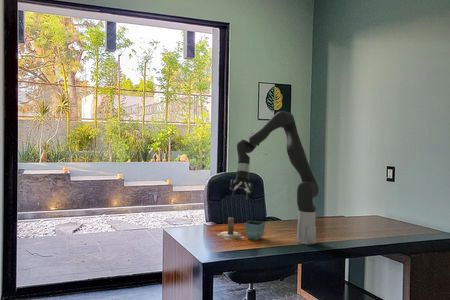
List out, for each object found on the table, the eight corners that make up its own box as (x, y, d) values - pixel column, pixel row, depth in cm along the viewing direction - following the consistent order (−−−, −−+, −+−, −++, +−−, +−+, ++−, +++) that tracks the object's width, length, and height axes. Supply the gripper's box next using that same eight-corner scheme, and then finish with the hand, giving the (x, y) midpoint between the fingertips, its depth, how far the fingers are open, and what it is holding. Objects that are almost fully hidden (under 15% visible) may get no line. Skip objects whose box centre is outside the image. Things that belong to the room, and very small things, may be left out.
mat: (245, 238, 213) (245, 237, 213) (225, 239, 207) (225, 239, 207) (234, 233, 223) (234, 232, 223) (216, 234, 218) (216, 234, 218)
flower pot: (243, 239, 210) (244, 223, 210) (250, 236, 218) (250, 220, 218) (258, 241, 206) (258, 225, 206) (264, 238, 214) (265, 222, 214)
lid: (245, 237, 213) (245, 219, 213) (225, 239, 207) (226, 220, 207) (234, 232, 223) (235, 215, 223) (216, 234, 218) (216, 216, 218)
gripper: (234, 168, 226) (231, 195, 220) (256, 172, 230) (254, 199, 225) (229, 171, 232) (227, 197, 227) (251, 175, 237) (248, 201, 231)
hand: (240, 198), depth 226 cm, fingers open, 8 cm apart
